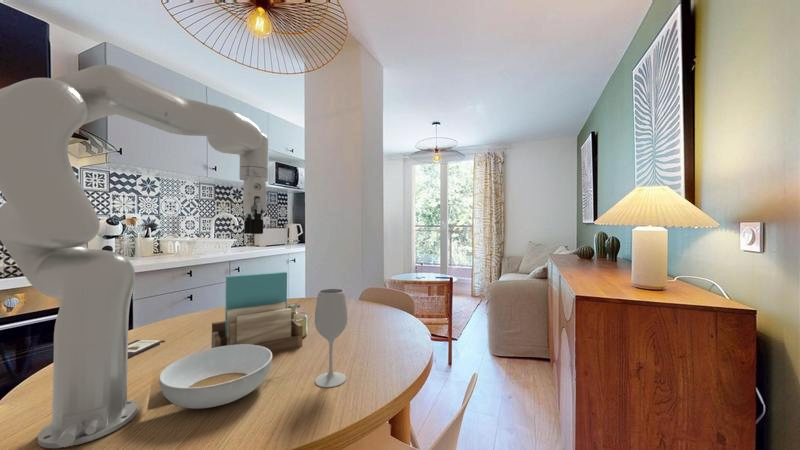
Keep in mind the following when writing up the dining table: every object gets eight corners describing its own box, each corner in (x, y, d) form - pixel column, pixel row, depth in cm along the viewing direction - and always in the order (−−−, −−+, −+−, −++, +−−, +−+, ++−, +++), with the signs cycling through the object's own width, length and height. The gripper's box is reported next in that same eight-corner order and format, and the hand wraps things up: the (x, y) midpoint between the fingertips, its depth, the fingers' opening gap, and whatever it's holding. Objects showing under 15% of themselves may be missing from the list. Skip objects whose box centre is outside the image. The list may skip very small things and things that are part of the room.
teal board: (286, 342, 92) (287, 272, 93) (225, 354, 83) (226, 277, 83) (284, 340, 94) (285, 271, 94) (224, 352, 85) (225, 276, 85)
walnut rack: (302, 351, 89) (302, 318, 90) (214, 370, 77) (215, 332, 77) (292, 340, 98) (292, 311, 98) (211, 357, 85) (211, 322, 85)
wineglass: (314, 390, 68) (314, 295, 68) (314, 374, 75) (315, 288, 75) (348, 385, 70) (349, 293, 70) (345, 370, 77) (345, 287, 77)
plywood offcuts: (290, 347, 88) (291, 303, 89) (227, 360, 79) (228, 312, 79) (287, 343, 91) (288, 301, 91) (226, 356, 82) (227, 309, 82)
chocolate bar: (74, 365, 78) (137, 339, 96) (74, 369, 78) (137, 342, 96) (108, 366, 78) (165, 340, 96) (108, 370, 78) (164, 343, 96)
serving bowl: (151, 393, 66) (151, 361, 66) (252, 364, 81) (253, 338, 81) (168, 441, 51) (168, 399, 51) (288, 394, 66) (288, 362, 66)
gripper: (274, 172, 85) (274, 234, 84) (261, 180, 99) (260, 233, 99) (244, 169, 80) (243, 234, 80) (235, 177, 94) (234, 233, 94)
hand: (253, 233), depth 89 cm, fingers open, 9 cm apart
